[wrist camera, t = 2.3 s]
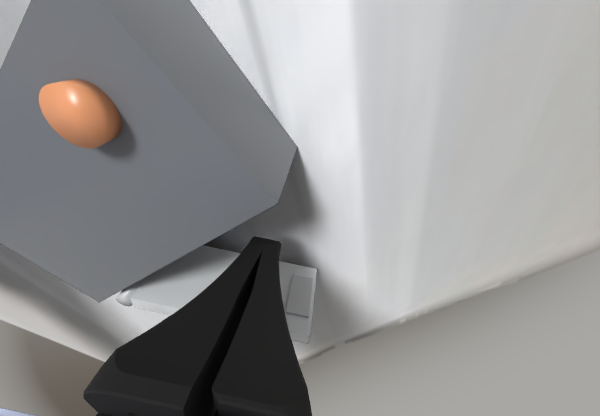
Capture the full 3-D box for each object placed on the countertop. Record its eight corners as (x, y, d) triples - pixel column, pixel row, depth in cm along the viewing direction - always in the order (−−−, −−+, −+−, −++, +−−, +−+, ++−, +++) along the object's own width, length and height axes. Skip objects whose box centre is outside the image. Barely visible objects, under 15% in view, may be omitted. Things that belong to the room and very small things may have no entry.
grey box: (144, 249, 17) (82, 320, 13) (37, 169, 14) (-86, 228, 10) (299, 149, 11) (277, 218, 7) (175, -19, 8) (22, -60, 4)
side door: (165, 247, 16) (119, 305, 13) (162, 235, 16) (113, 293, 12) (314, 278, 16) (307, 345, 13) (317, 267, 15) (311, 334, 12)
